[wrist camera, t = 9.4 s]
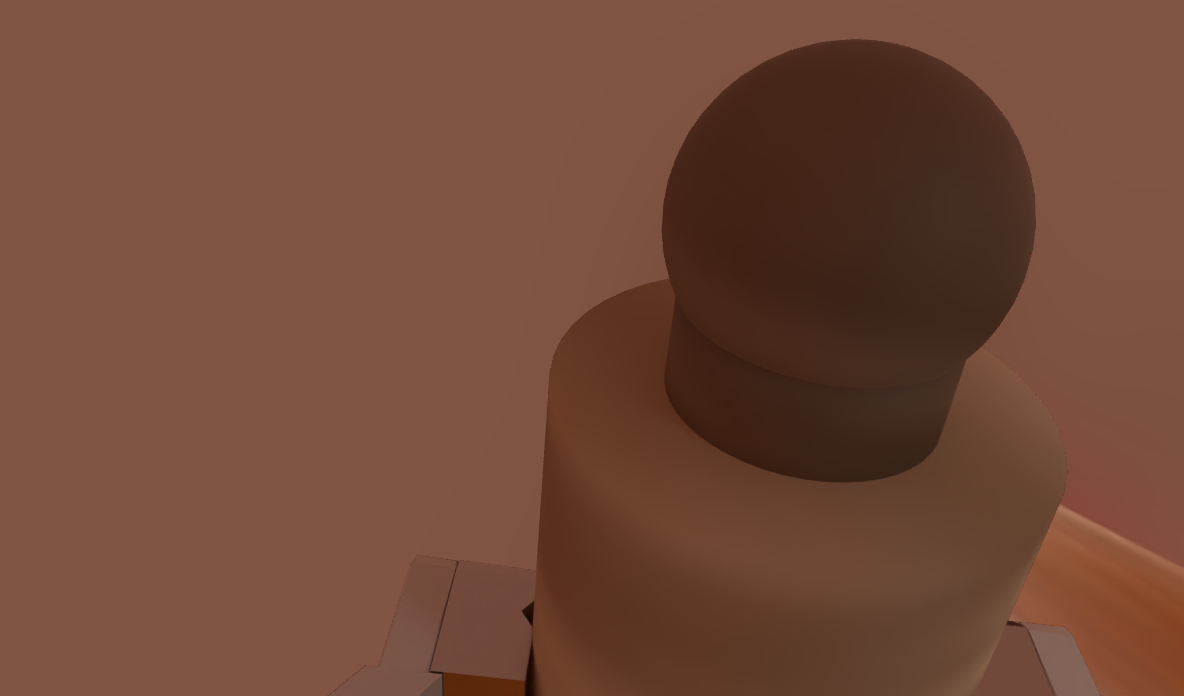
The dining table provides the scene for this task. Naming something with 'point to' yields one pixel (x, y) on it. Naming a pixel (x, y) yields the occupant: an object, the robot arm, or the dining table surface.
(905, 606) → the pepper mill
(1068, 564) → the dining table surface
